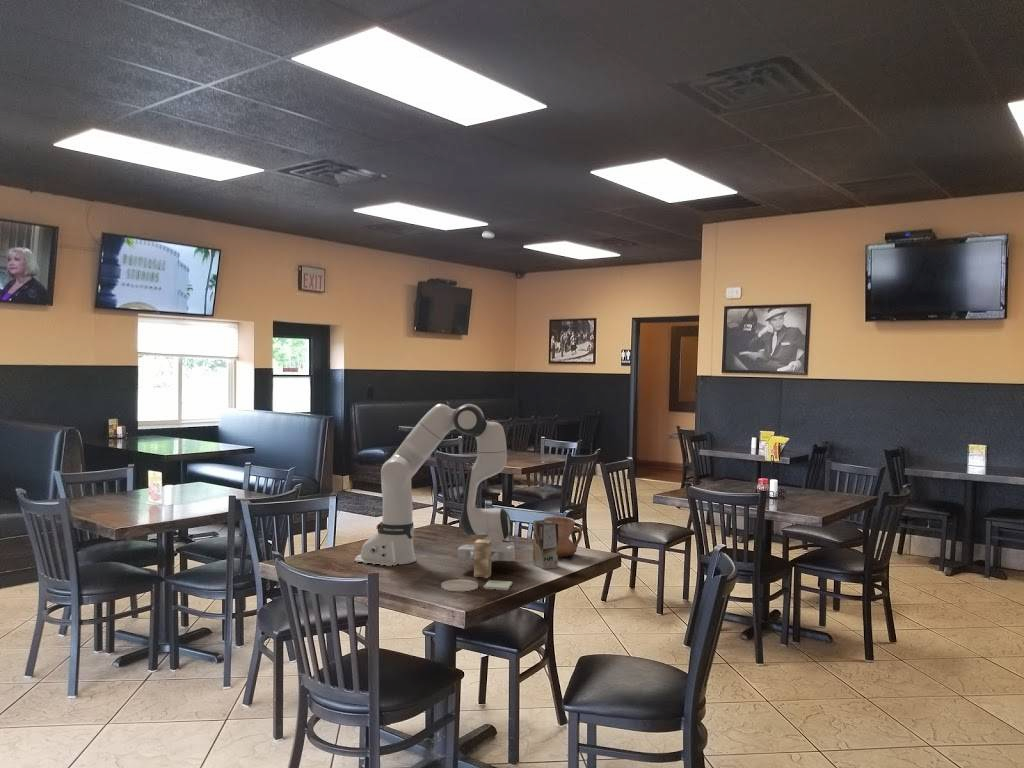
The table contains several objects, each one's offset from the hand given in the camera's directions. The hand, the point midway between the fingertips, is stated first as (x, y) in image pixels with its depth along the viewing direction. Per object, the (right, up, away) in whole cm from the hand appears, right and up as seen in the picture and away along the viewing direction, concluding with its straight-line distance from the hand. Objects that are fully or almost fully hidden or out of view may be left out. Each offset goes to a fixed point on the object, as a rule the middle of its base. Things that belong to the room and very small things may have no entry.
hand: (481, 557), depth 262 cm
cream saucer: (-7, -6, -14) cm, 16 cm away
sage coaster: (+6, -7, -12) cm, 15 cm away
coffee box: (+23, -7, +17) cm, 29 cm away
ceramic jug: (+29, -7, +35) cm, 46 cm away
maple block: (0, -7, +1) cm, 7 cm away
